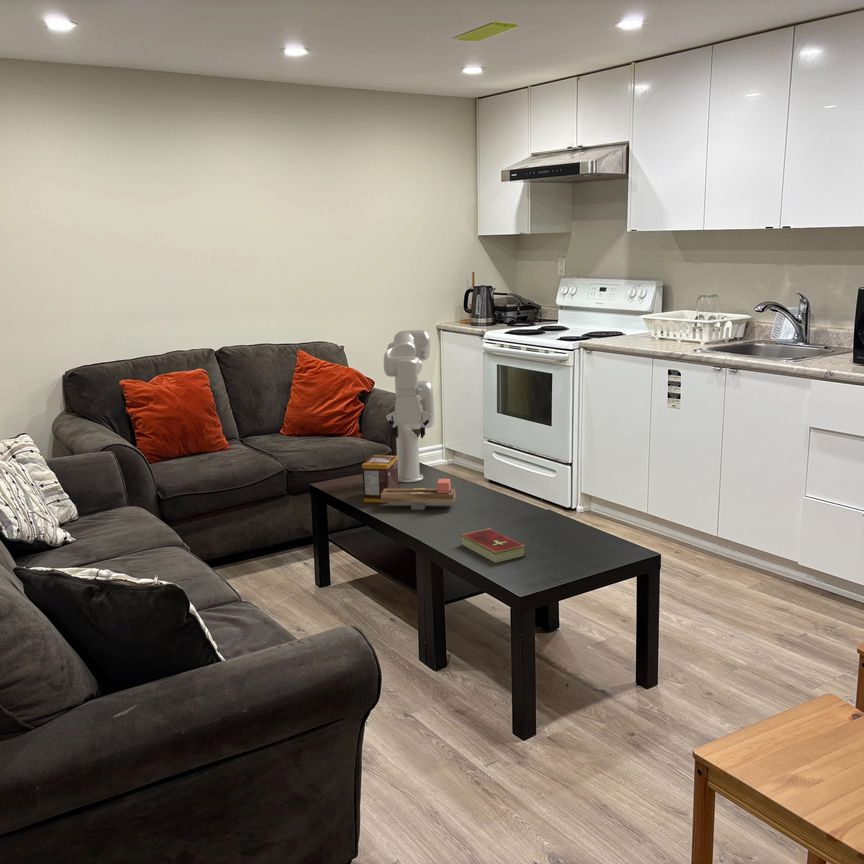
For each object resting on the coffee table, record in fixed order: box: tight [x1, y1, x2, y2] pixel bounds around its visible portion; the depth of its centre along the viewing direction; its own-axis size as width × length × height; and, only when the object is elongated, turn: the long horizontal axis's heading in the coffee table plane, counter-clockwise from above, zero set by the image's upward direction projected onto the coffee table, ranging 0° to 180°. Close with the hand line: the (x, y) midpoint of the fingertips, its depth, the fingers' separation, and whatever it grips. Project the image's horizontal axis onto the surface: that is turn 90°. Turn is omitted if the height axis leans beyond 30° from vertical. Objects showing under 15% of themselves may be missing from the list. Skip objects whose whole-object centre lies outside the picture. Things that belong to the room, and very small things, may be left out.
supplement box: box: [361, 454, 400, 504], centre depth 345 cm, size 10×15×16 cm
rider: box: [436, 478, 452, 493], centre depth 329 cm, size 6×4×6 cm
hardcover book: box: [460, 528, 527, 564], centre depth 283 cm, size 12×21×4 cm, turn 30°
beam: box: [381, 487, 457, 511], centre depth 331 cm, size 8×28×6 cm, turn 83°
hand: (409, 437), depth 322 cm, fingers open, 9 cm apart
